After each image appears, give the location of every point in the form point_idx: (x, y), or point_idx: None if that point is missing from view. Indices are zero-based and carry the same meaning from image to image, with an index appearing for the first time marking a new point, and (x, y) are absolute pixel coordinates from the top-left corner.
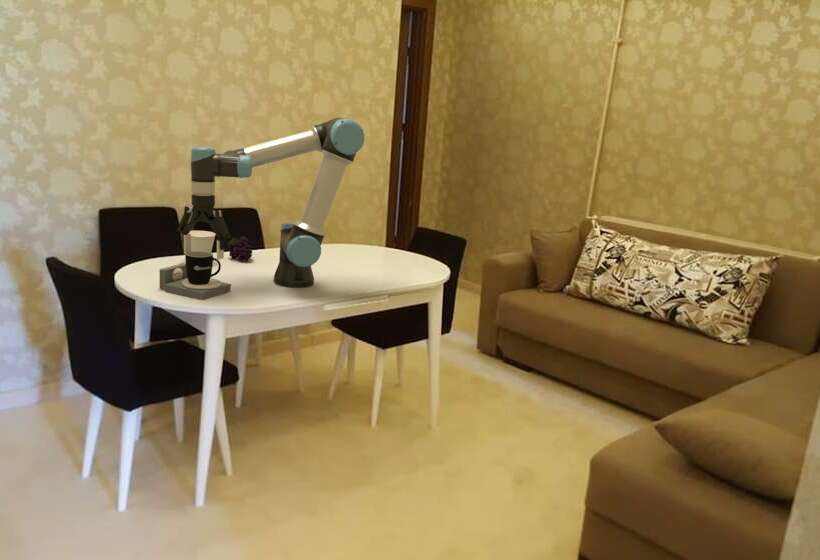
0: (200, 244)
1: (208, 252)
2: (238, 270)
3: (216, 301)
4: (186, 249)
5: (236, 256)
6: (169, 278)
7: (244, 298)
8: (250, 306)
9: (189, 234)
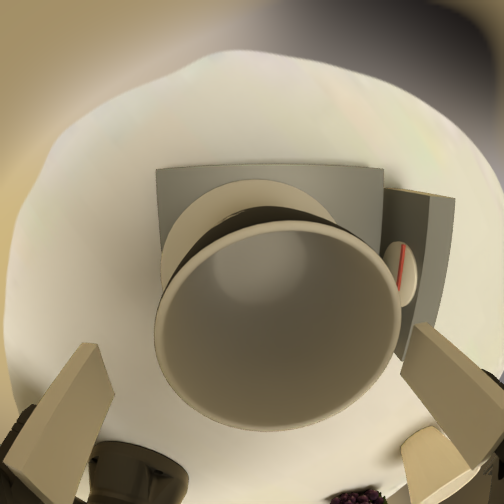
0: (433, 472)
1: (267, 428)
2: (315, 471)
3: (116, 196)
4: (430, 348)
5: (360, 496)
6: (401, 220)
7: (83, 297)
8: (19, 234)
9: (482, 459)
